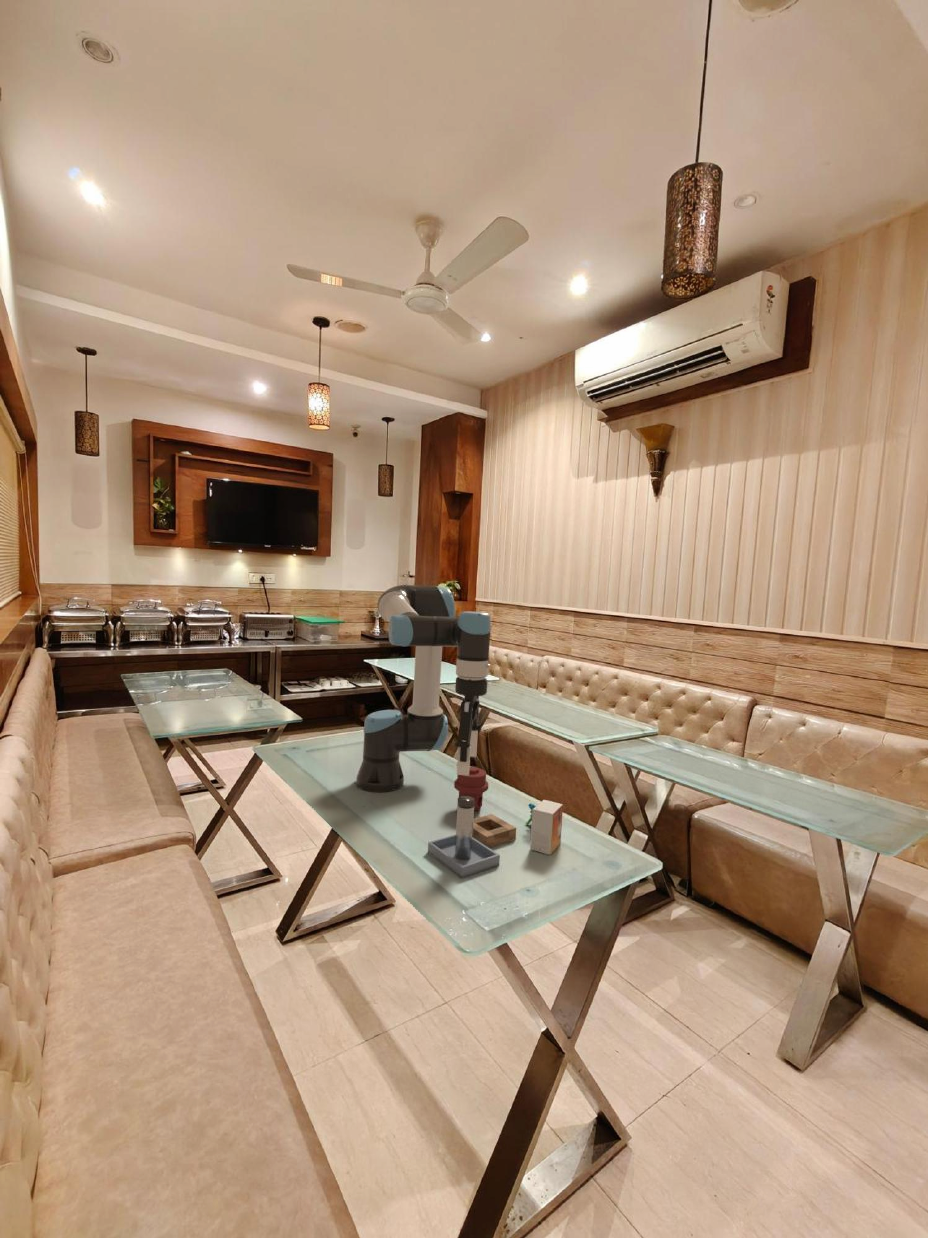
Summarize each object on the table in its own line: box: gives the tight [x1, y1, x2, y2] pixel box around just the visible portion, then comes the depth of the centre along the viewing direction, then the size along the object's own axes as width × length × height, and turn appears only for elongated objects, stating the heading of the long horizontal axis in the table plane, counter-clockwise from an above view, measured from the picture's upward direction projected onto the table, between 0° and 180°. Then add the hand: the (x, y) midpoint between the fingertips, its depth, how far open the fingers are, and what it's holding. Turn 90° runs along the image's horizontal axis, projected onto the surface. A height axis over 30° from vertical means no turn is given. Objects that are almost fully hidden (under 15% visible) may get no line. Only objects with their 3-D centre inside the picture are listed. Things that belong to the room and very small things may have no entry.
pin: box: [455, 796, 475, 860], centre depth 131 cm, size 4×4×14 cm
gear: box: [525, 803, 537, 826], centre depth 148 cm, size 11×6×10 cm
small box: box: [529, 799, 564, 856], centre depth 139 cm, size 8×6×10 cm
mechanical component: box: [453, 765, 489, 812], centre depth 160 cm, size 12×10×10 cm
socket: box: [473, 813, 517, 849], centre depth 144 cm, size 10×10×3 cm
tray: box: [427, 833, 501, 879], centre depth 131 cm, size 14×11×2 cm
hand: (467, 765), depth 131 cm, fingers open, 13 cm apart
